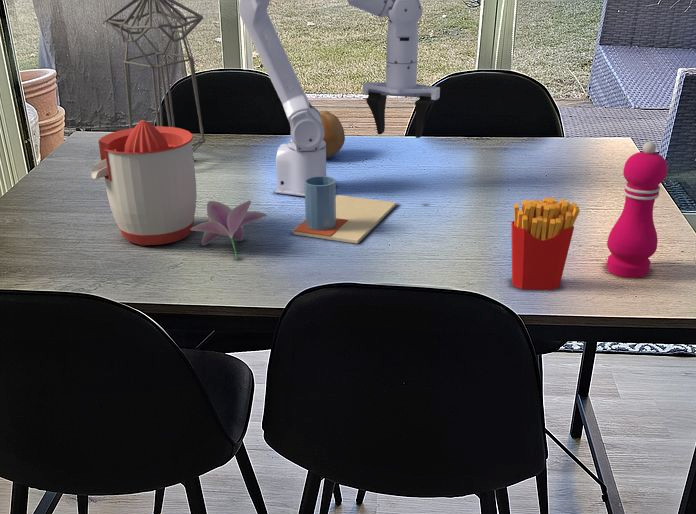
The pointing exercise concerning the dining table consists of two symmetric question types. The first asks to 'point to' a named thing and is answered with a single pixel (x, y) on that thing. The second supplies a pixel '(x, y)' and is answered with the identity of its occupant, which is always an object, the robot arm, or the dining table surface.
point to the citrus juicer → (149, 182)
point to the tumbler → (320, 202)
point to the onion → (332, 133)
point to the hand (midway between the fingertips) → (399, 134)
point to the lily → (226, 221)
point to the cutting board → (351, 219)
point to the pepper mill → (637, 215)
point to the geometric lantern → (141, 6)
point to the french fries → (541, 242)
